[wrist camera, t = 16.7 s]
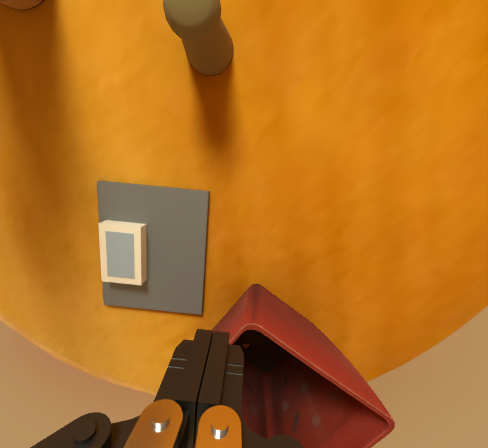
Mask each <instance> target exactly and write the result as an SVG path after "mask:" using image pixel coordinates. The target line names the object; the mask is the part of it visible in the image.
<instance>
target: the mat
mask: <svg viewBox="0 0 488 448" xmlns="http://www.w3.org/2000/svg"><path fill="white" fill-rule="evenodd" d="M97 191H98V209H99V223H100V222H103V221H105V220H111V221H121V222H131V223H142V224H146V241H147V279H146V281H145V282H144V283H143V284H142V285H133V284H123V283H114V282H104V281H103V298H104V305H112V306H121V307H131V308H141V309H150V310H160V311H169V312H179V313H189V314H198V315H202V312H203V294H204V277H205V259H206V242H207V224H208V206H209V191H202V190H191V189H181V188H171V187H160V186H150V185H140V184H130V183H119V182H109V181H97Z"/></svg>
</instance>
